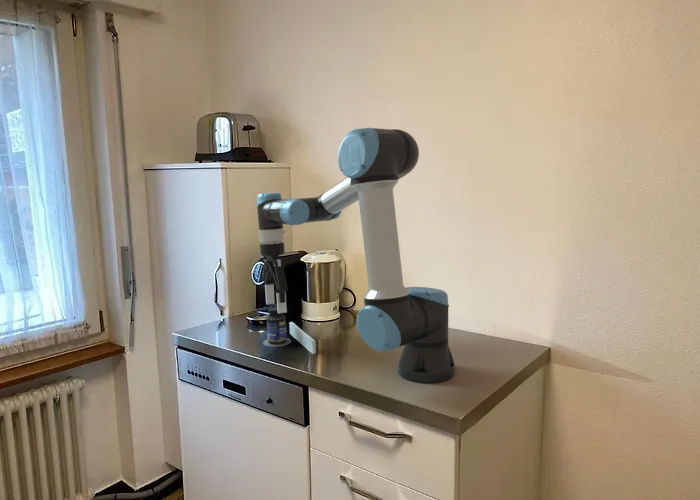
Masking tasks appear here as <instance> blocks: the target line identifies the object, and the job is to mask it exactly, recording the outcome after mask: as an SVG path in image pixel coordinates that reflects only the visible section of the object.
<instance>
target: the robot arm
mask: <svg viewBox="0 0 700 500" xmlns="http://www.w3.org/2000/svg"><path fill="white" fill-rule="evenodd" d="M419 149H420V148H419V146H418V143H417V141H416V139H415V138H414V137H413V136H412V135H411V134H410V133H408V131H405V130H403V129H399V128H398V129H395V128H394V129H393V128H392V129H391V128H389V129H388V128H377V127H376V128H375V127H363V128H355V129H352V130H350V131H349V132H348V133H347V134H345V135H344V137H343V139H342V141H341V143H340V145H339V147H338V153H337V163H338V164H337V165H338V167H339V170H340V172H342V174H343V176H345V177H344V178H343V179H341V180H340V181H339V182H337V183H336V184H334V185H333V186H332V187H330V188H328V189H327V190H326V191H324V192H323V193H321V194H320V195H319V196H313V197H303V198H290V199H289V198H287V199H284V198H283V199H282V194H281V193H280V192H263V193H262V192H261V193H259V194H257V197H256V199H257V200H256V203H257V205H256V209H257V221H258V237H259V239H258V240H259V243H260V245H259V249H260V250H259V251H260V255H261V256H263V269H262V270H263V271H262V282H263V283H264V289H265V290H264V291H265V303H266V305H267V306H268V305H275V303H276V307H277V310H278V314H279V313H283V314H284V313H286V314H287V313H288V309H287V294H286V293H287V291H288V290H289V288H288V283H287V278H286V274H285V269H284V260H283V259H280V256H281V255H284V254H285V251H286V250H285V242H283V241H284V240H285V239H284V234H285V233H286V231H285V230H284V225H289V226H298V225H299V226H301V225H303V224H307V223H315V222H324V221H325V222H326V221H327V222H329V221H331V220H336V219H338V218H339V217H340V216H341V214H342V211H343V210H345V209H346V208H348V207H349V206H351V205H353V204H354V203H356V202H358V204H359V212H360V213H359V215H360V223H361V232H362V239H363V248H364V249H363V250H364V256H365V257H364V258H365V266H366V275H367V283H368V290H367V292H366V293H365V294H364V296H363V303H364V306H363V307H362V308H360V310H359V311H358V313H357V316H356V327H357V331H358V333H359V335H360V337H361V339H362V341H364V342H365V344H366V345H367V346H368V347H370V349H372V350H374V351H377V352H386V351H390V350H392V351H393V350H396V349H398V348H400V347H403V348H402V351H401V354H400V358H399V361H398V367H397V368H398V371H397V372H398V375H400V376H401V377H402V378H404V379H406V380H408V381H411V382H412V381H413V382H418V383H423V384H424V383H430V384H431V383H440V382H445V381H447V380H450V379H452V378H454V376H455V374H456V364H455V361H454V359H453V356H452V353H451V349H450V346H449V307H450V304H449V296H448V293H447V292H446V291H444V290H442V289H438V288H435V287H433V288H432V287H427V286H426V287H425V286H424V287H423V286H407V287H406V286H405V285H404V279H403V269H402V262H401V252H400V251H401V250H400V243H399V234H398V225H397V216H396V208H395V197H394V188H395V187H396V185H397V184H398V183H399V180H401V179H402V178H404V177H405V176H407V175H408V174H409V173H411V172H412V171H413V170H414V169H415V167H416V166H417V165H418V161H419V157H420V151H419ZM274 285H275V286H274ZM274 287H276V290H275V288H274ZM275 294H276V302H275Z"/></svg>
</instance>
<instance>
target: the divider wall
mask: <svg viewBox="0 0 700 500" xmlns="http://www.w3.org/2000/svg"><path fill="white" fill-rule="evenodd" d="M289 334H290V335H291V336H292V338H294V339H295V340H296V341H297V342H298V343H300V344H301V346H303V347H304V348H305V349H306V350H307V351H308V352H309V353H310V354H312V355H315V354H317V344H316V342H317V341H316V340H315V339H313V337H312V336H310V335H309V334H307V333H306V332H305V331H304V330H303V329H301V328H300V327H299V326H298V325H296V323H294V322H293V321H290V322H289Z"/></svg>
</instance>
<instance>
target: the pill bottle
mask: <svg viewBox="0 0 700 500" xmlns="http://www.w3.org/2000/svg"><path fill="white" fill-rule="evenodd" d="M267 313H268V316H267V317H266V329H267V330H266V331H267V339H268V342H269V343H270V344H282V343H285V342H286V341H287V338H288V337H287V336H288V335H287V321H286V319H287V318H286V315H285V314H284V313H279V314H278V310H277V306H273V307H269V308H268V312H267Z"/></svg>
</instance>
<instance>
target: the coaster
mask: <svg viewBox="0 0 700 500" xmlns="http://www.w3.org/2000/svg"><path fill="white" fill-rule="evenodd" d="M291 343H292V340H291V339H290V338H288V337H287V341H286V342H285V343H282V344H270V343H269V342H268V338H267V339H265V340H264V341H263V342H262V344H263V346H264V347H267V348H281V347H285V346H288V345H290V344H291Z"/></svg>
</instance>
